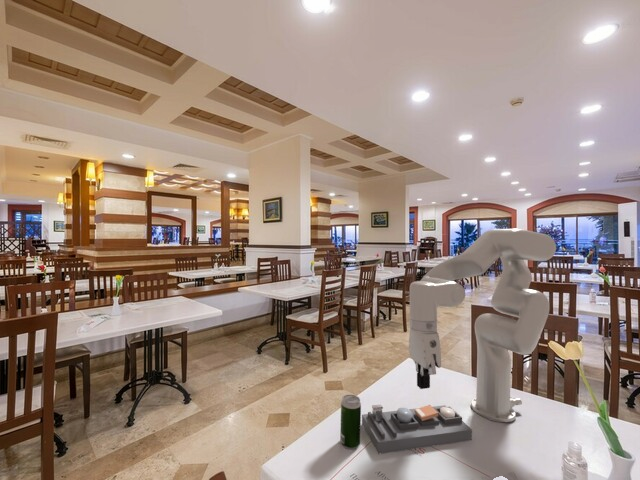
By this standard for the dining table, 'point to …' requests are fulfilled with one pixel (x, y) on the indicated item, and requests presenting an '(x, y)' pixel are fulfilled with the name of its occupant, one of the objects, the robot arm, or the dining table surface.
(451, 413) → the white dome button
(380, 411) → the slide paddle
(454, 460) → the dining table surface
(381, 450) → the switch panel
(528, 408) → the dining table surface
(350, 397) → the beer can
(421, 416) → the rocker switch
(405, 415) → the grey dome
